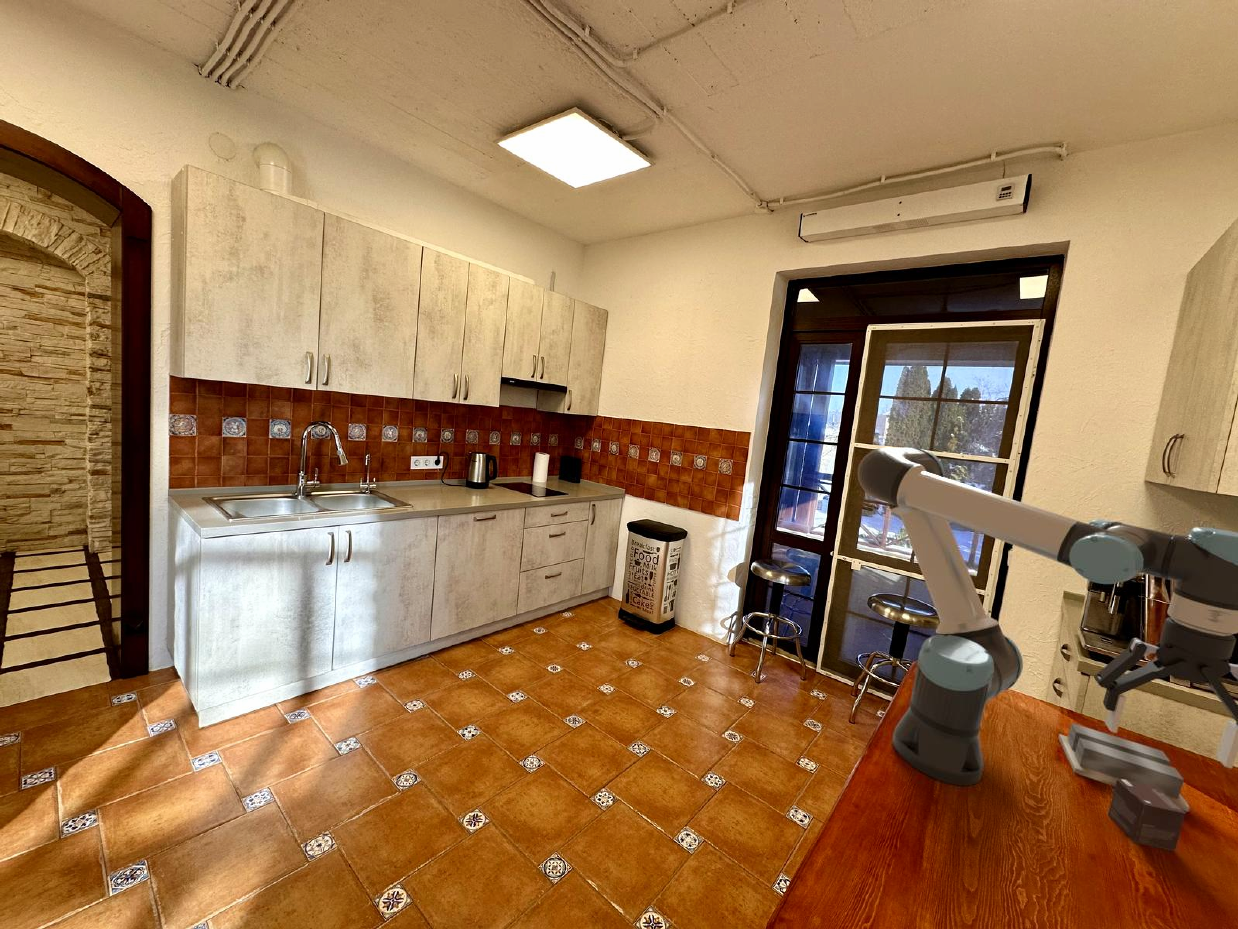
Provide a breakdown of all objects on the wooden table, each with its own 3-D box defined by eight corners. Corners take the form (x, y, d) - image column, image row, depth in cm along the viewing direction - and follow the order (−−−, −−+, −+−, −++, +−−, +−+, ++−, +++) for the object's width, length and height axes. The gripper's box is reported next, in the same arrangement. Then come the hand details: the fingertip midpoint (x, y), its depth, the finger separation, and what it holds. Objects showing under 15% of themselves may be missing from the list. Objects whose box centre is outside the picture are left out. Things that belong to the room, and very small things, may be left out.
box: (1176, 853, 82) (1188, 814, 81) (1133, 843, 84) (1144, 804, 82) (1146, 822, 88) (1156, 785, 87) (1106, 813, 89) (1116, 777, 88)
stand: (1074, 772, 99) (1080, 749, 98) (1058, 738, 110) (1063, 717, 109) (1188, 812, 92) (1195, 787, 91) (1159, 771, 102) (1166, 748, 101)
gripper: (1105, 610, 83) (1074, 726, 86) (1339, 662, 71) (1292, 794, 74) (1090, 595, 89) (1062, 704, 93) (1302, 641, 77) (1261, 763, 81)
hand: (1164, 744), depth 83 cm, fingers open, 13 cm apart
